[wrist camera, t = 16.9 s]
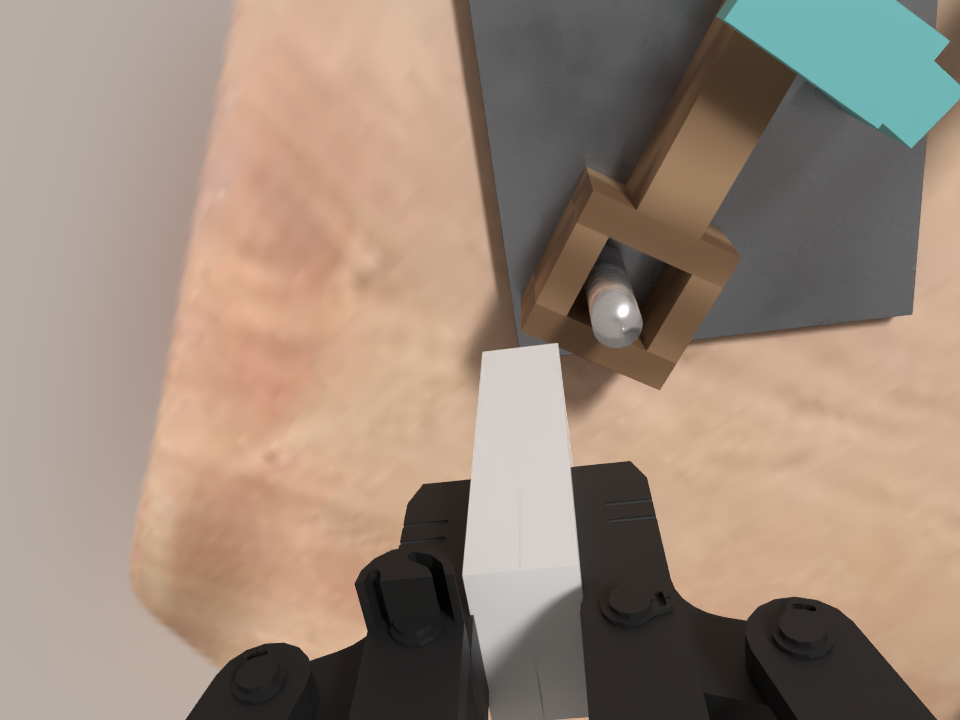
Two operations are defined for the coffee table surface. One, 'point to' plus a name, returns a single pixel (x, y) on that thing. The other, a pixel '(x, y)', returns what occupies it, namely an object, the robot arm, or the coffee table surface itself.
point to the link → (663, 212)
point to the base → (748, 204)
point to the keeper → (856, 57)
